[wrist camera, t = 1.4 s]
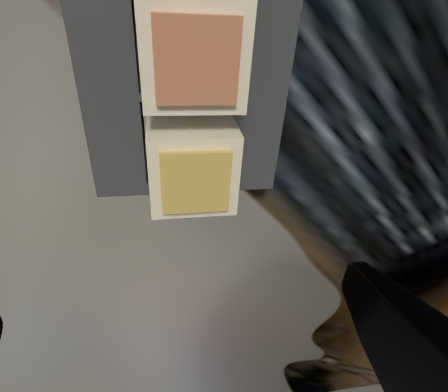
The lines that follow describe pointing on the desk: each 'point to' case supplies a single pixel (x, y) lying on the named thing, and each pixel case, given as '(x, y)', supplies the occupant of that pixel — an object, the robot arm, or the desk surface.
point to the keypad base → (132, 100)
